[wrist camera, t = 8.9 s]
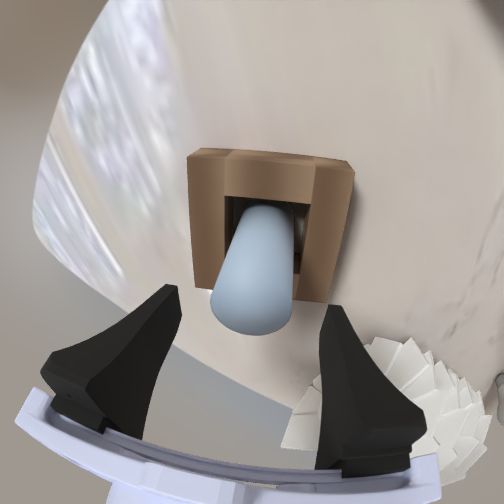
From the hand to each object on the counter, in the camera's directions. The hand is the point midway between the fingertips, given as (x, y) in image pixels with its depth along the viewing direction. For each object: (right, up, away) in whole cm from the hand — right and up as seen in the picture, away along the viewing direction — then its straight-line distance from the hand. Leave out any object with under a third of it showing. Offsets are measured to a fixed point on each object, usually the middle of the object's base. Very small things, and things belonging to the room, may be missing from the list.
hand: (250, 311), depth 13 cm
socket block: (+1, +5, +9) cm, 10 cm away
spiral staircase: (+19, -13, +18) cm, 29 cm away
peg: (+1, +5, +9) cm, 10 cm away
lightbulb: (+44, -19, +17) cm, 51 cm away
